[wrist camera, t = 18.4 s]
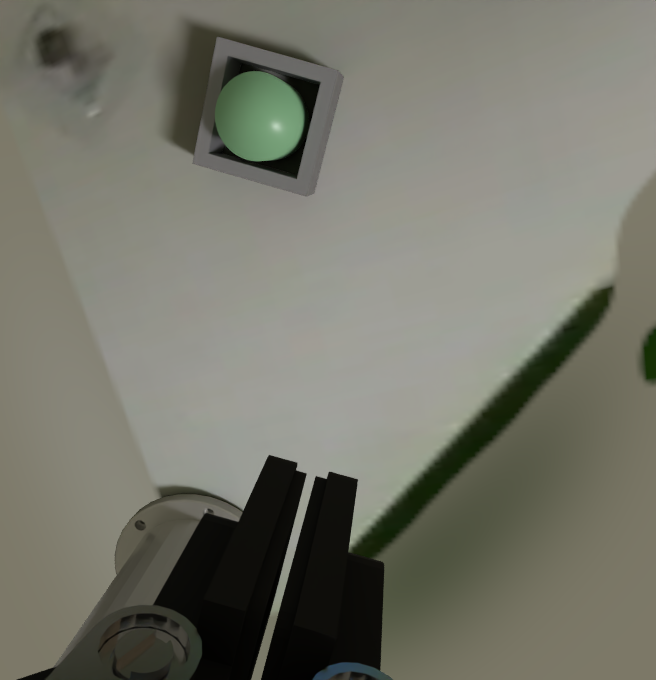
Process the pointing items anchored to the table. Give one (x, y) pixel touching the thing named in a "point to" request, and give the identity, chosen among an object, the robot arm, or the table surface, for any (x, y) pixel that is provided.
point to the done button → (261, 117)
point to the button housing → (330, 82)
